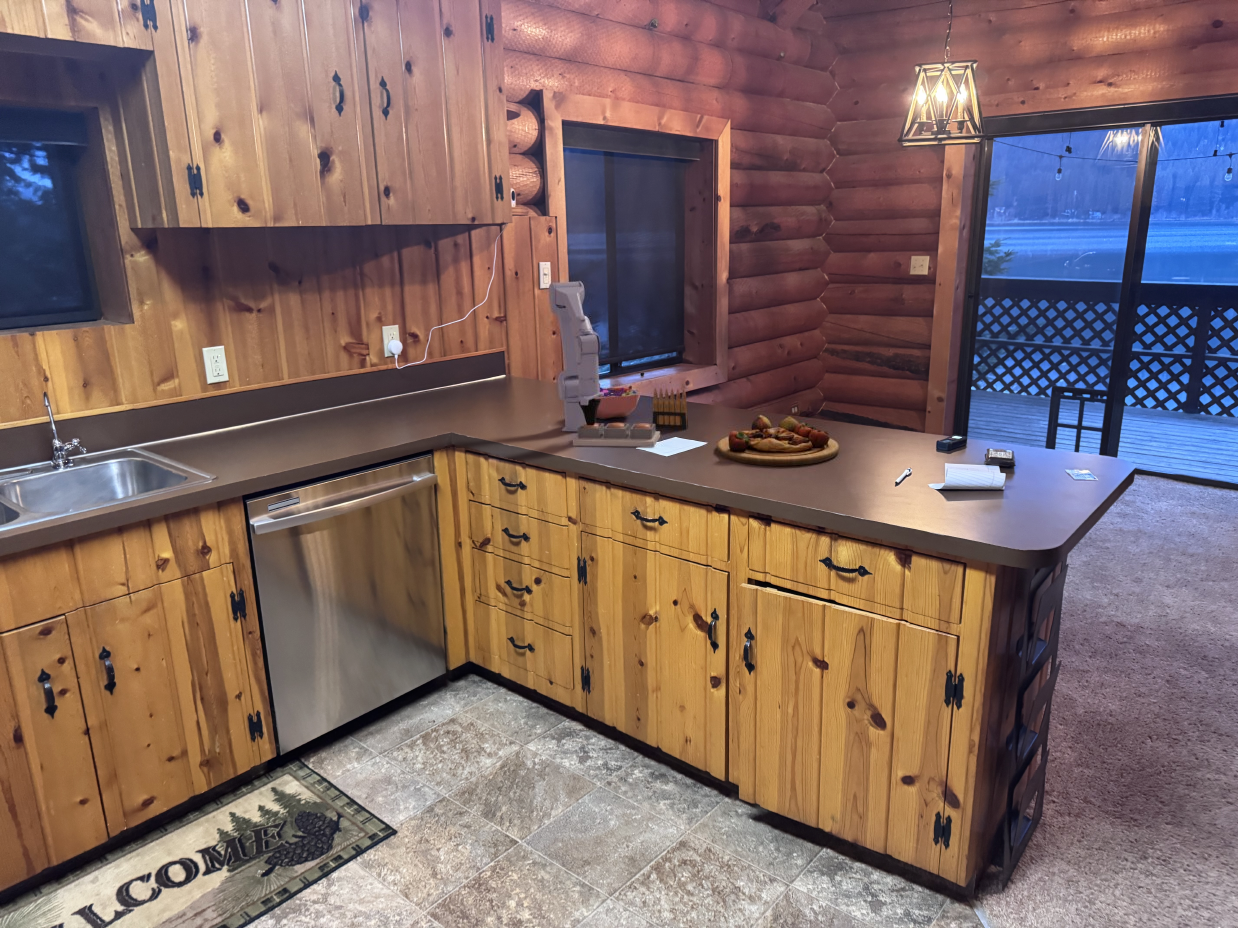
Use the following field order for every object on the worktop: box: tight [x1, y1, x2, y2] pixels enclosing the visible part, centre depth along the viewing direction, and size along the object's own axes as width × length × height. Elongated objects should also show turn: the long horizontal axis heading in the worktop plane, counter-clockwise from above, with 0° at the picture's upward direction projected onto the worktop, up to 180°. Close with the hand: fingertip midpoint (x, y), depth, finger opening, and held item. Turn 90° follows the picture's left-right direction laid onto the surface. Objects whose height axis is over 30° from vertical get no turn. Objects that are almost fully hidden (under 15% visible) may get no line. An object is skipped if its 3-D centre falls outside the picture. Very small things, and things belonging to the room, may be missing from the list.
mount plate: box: [572, 423, 661, 448], centre depth 244 cm, size 12×23×4 cm, turn 79°
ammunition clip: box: [652, 388, 689, 430], centre depth 257 cm, size 11×2×12 cm, turn 69°
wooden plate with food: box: [716, 414, 840, 467], centre depth 228 cm, size 32×32×8 cm
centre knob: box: [609, 422, 625, 428], centre depth 244 cm, size 4×4×3 cm
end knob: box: [583, 422, 600, 428], centre depth 245 cm, size 4×4×3 cm
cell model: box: [595, 382, 642, 420], centre depth 273 cm, size 17×20×11 cm
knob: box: [635, 422, 651, 429], centre depth 243 cm, size 4×4×3 cm
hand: (590, 425), depth 245 cm, fingers closed, pressing on end knob
